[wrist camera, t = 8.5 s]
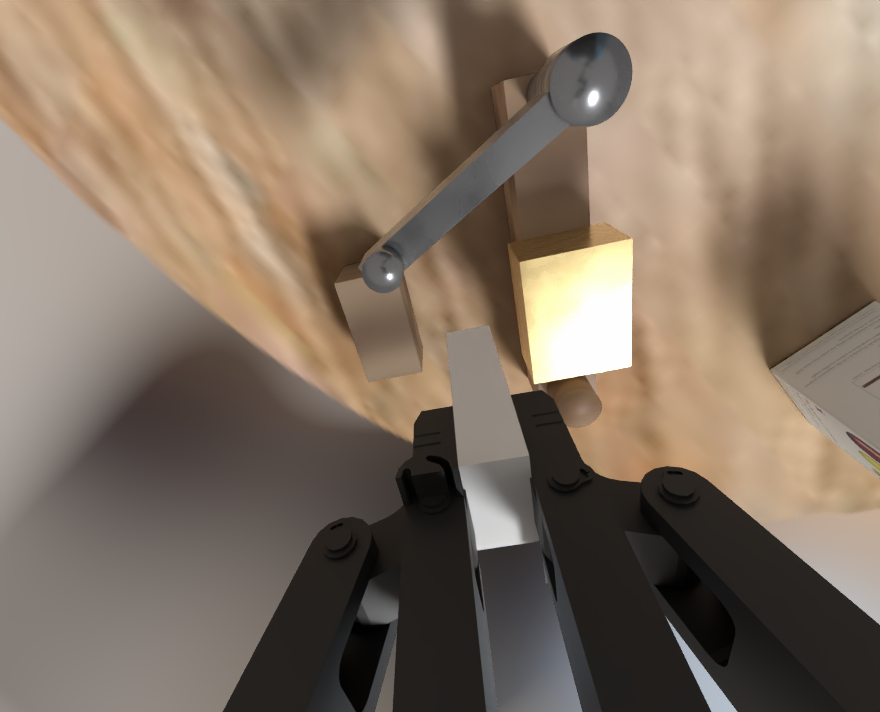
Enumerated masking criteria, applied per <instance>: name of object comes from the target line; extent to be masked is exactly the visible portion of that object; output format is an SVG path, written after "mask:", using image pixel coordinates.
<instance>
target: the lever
mask: <svg viewBox="0 0 880 712" xmlns="http://www.w3.org/2000/svg"><path fill="white" fill-rule="evenodd" d="M631 81H632V63H631V58H630V55H629V53H628V50H627V49H626V47H625V46H624V44H623V43H622V42H621V41H620V40H619V39H618V38H616V37H614V36H613V35H610V34H607V33H591V34H588V35H585V36H583V37H581V38H579V39H577V40H575V41H573V42H572V43H570V44H568V45H566V46H564V47H562V48H561V49H559V50H557V51H556V52H555V53H553V54H552V55H551V56H550V57H549V58H548V59H547V61H546V62H545V64H544V65H543V67H542V69H541V71H540V73H539V76H538V80H537V86H536V95H535V96H534V97H533V98H532V99H531V100H530V101H529V102H528V103H526V104H525V105H524V106H523V107H522V108H521V109H520V110H519V111H518V112H517V113H516V114H515V115H514V116H512V117H511V118H510V119H509V120H508V121H507V122H506V123H505V124H504V125H503V126H502V127H501V128H500V129H498V130H497V131H496V132H495V133H494V134H493V135H492V136H491V137H490V138H489V139H488V140H487V141H486V142H484V143H483V144H482V145H481V146H480V147H479V148H478V149H477V150H476V151H475V152H474V153H473V154H472V155H471V156H469V157H468V158H467V159H466V160H465V161H464V162H463V163H462V164H461V165H460V166H459V167H458V168H457V169H455V170H454V171H453V172H452V173H451V174H450V175H449V176H448V177H447V178H446V179H445V180H444V181H443V182H441V183H440V184H439V185H438V186H437V187H436V188H435V189H434V190H433V191H432V192H431V193H430V194H429V195H427V196H426V197H425V198H424V199H423V200H422V201H421V202H420V203H419V204H418V205H417V206H416V207H415V208H413V209H412V210H411V211H410V212H409V213H408V214H407V215H406V216H405V217H404V218H403V219H402V220H401V221H400V222H398V223H397V224H396V225H395V226H394V227H393V228H392V229H391V230H390V231H389V232H388V233H387V234H386V235H384V236H383V237H382V238H381V239H380V240H379V241H378V242H377V243H376V244H375V245H374V246H373V247H372V248H370V249H369V250H368V251H367V252H366V253H365V254H364V256H363V259H362V261H361V263H360V265H359V267H358V268H359V269H360V270H361V271H362V277H363V280H364V282H365V284H366V285H367V286H368V287H369V288H370V289H371V290H373V291H375V292H378V293H389V292H392V291H394V290H395V289H397V288H398V287H399V285H400V284H401V282H402V278H403V273H404V270H405V269H406V268H407V267H409V266H410V265H411V264H412V263H413V262H414V261H415V260H417V259H418V258H419V257H420V256H421V255H422V254H423V253H425V252H426V251H427V250H428V249H429V248H430V247H431V246H432V245H434V244H435V243H436V242H437V241H438V240H439V239H440V238H442V237H443V236H444V235H445V234H446V233H447V232H448V231H450V230H451V229H452V228H453V227H454V226H455V225H456V224H458V223H459V222H460V221H461V220H462V219H463V218H464V217H465V216H467V215H468V214H469V213H470V212H471V211H472V210H473V209H475V208H476V207H477V206H478V205H479V204H480V203H481V202H483V201H484V200H485V199H486V198H487V197H488V196H489V195H491V194H492V193H493V192H494V191H495V190H496V189H497V188H499V187H500V186H501V185H502V184H503V183H504V182H505V181H506V180H508V179H509V178H510V177H511V176H512V175H513V174H514V173H516V172H517V171H518V170H519V169H520V168H521V167H522V166H524V165H525V164H526V163H527V162H528V161H529V160H530V159H532V158H533V157H534V156H535V155H536V154H537V153H538V152H540V151H541V150H542V149H543V148H544V147H545V146H546V145H547V144H549V143H550V142H551V141H552V140H553V139H554V138H555V137H557V136H558V135H559V134H560V133H561V132H562V131H563V130H565V129H566V128H567V127H568V126H582V127H588V126H594V125H598V124H600V123H602V122H604V121H606V120H607V119H609V118H610V117H611V116H613V115H614V114H615V113H616V112H617V110H618V109H619V108H620V107H621V105H622V104H623V102H624V101H625V99H626V97H627V94H628V92H629V89H630V86H631Z"/></svg>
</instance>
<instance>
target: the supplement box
mask: <svg viewBox="0 0 880 712" xmlns="http://www.w3.org/2000/svg"><path fill="white" fill-rule="evenodd" d="M771 372H772V374H773V375H774V376H775V377H776V379H777V380H778V382H779V383H780V384H781V386H782V387H783V388H784V390H785V391H786V392H787V394H788V395H789V396H790V398H791V399H792V400H793V402H794V403H795V404H796V406H797V407H798V408H799V410H800V411H801V412H802V414H803V415H804V416H805V418H806V419H807V420H808V422H809V423H810V424H811V425H812V426H814V427H815V428H816V429H817V430H819V431H820V432H821V433H823V434H824V435H825V436H826V437H828V438H829V439H830V440H831V441H833V442H834V443H835V444H836V445H838V446H839V447H840V448H841V449H843V450H844V451H845V452H846V453H848V454H849V455H850V456H851V457H853V458H854V459H855V460H857V461H858V462H859V463H860V464H862V465H863V466H864V467H865V468H867V469H868V470H869V471H870V472H872V473H873V474H874V475H875V476H877V477H878V478H879V479H880V303H879V302H877V301H874V302H872V303H871V304H869V305H868V306H866V307H865V308H863V309H862V310H860V311H859V312H857V313H856V314H854V315H853V316H851V317H850V318H848V319H846V320H845V321H843V322H842V323H840V324H839V325H837V326H836V327H834V328H833V329H831V330H830V331H828V332H827V333H825V334H824V335H822V336H821V337H819V338H818V339H816V340H815V341H813V342H812V343H810V344H809V345H807V346H805V347H804V348H802V349H801V350H799V351H798V352H796V353H795V354H793V355H792V356H790V357H789V358H787V359H786V360H784V361H783V362H781V363H780V364H778V365H777V366H775V367H773V368H772V369H771Z"/></svg>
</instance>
